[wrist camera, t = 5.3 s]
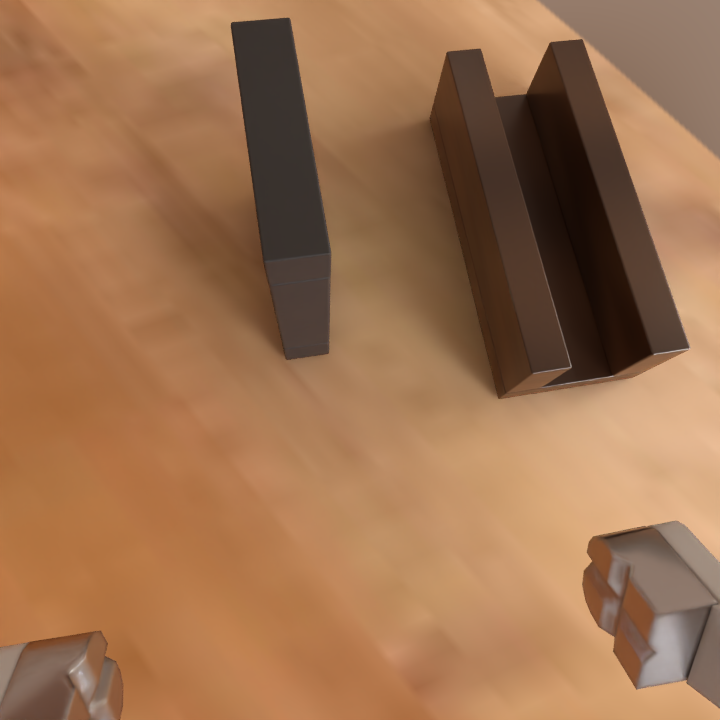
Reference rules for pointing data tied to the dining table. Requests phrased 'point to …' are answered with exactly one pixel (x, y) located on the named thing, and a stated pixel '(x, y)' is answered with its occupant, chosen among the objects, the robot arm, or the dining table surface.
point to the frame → (285, 184)
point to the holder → (551, 227)
